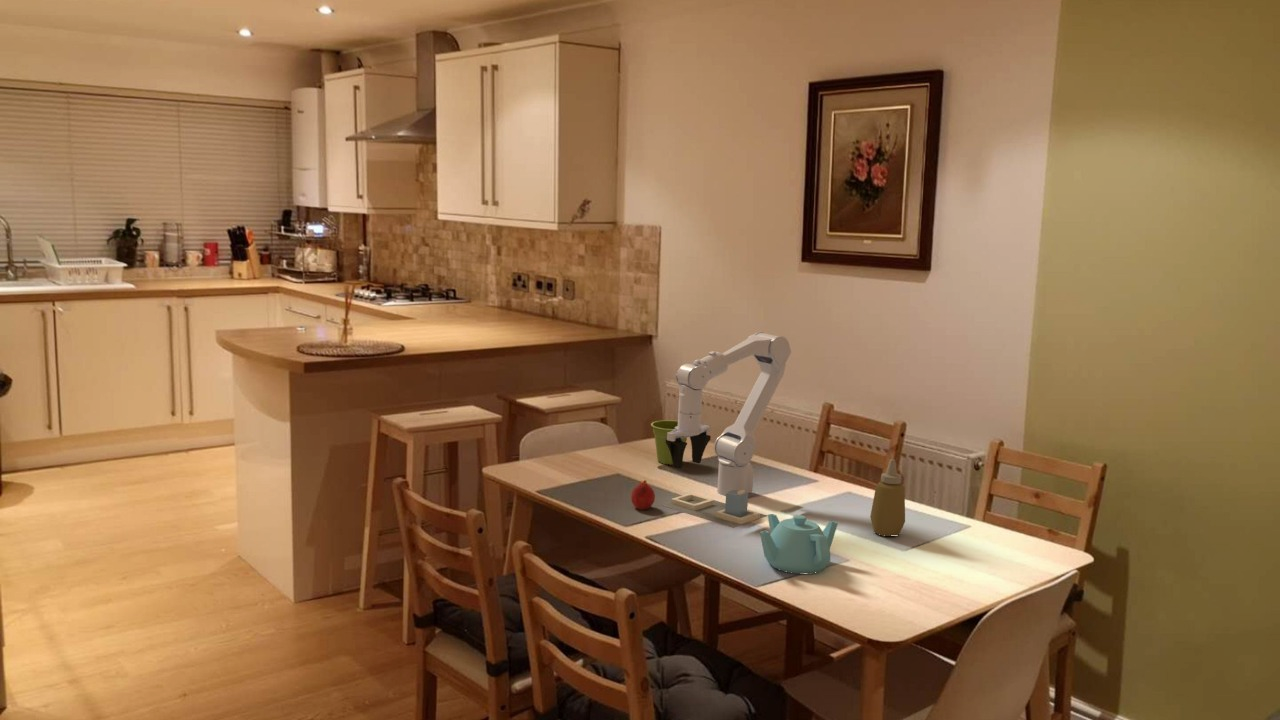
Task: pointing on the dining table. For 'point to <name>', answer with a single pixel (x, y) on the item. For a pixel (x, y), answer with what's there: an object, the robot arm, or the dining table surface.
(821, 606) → the dining table surface
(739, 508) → the plug
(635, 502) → the red pomegranate
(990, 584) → the dining table surface
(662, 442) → the plant pot
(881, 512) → the squeeze bottle
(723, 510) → the panel
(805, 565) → the teapot
